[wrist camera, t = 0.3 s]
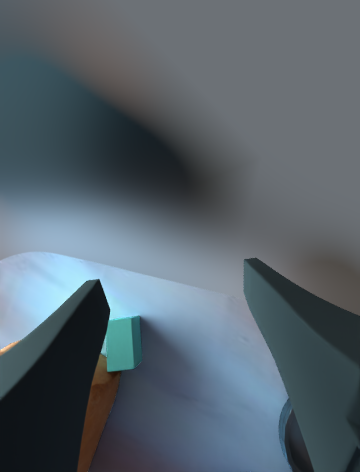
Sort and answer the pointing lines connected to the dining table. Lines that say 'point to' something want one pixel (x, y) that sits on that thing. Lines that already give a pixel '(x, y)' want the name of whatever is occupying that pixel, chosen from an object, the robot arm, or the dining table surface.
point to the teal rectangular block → (123, 344)
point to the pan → (293, 441)
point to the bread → (94, 408)
